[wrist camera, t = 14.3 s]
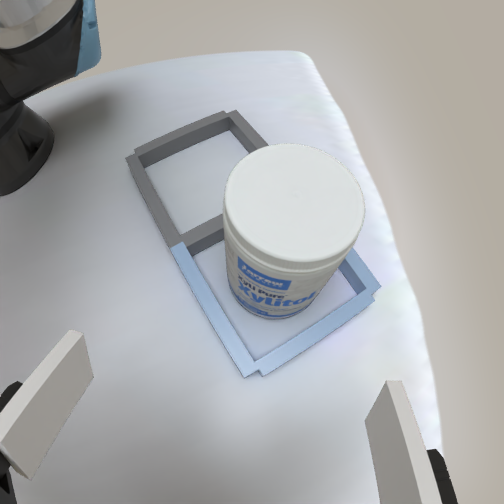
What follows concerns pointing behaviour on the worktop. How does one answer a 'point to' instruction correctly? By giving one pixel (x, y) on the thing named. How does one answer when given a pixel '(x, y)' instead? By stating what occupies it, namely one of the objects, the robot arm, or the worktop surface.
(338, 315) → the bay frame
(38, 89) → the robot arm
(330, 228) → the supplement tub
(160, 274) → the worktop surface
